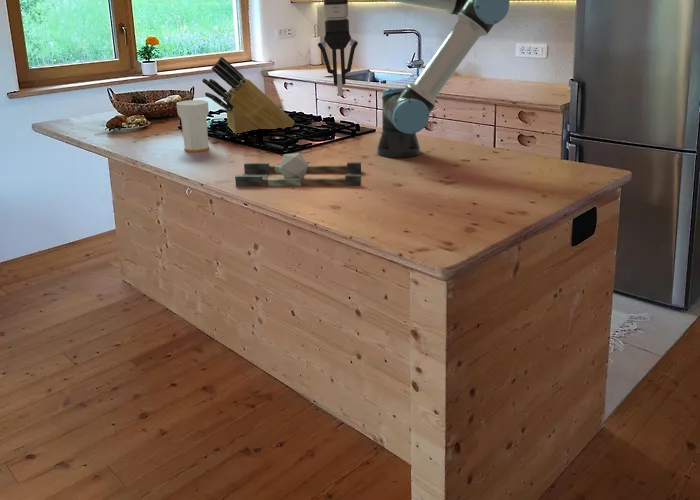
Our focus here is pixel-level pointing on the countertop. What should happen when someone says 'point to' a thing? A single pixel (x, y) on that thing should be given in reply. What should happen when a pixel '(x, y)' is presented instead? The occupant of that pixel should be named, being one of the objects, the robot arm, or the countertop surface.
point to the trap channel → (260, 171)
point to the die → (293, 166)
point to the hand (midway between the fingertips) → (340, 94)
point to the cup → (194, 124)
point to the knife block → (245, 102)
